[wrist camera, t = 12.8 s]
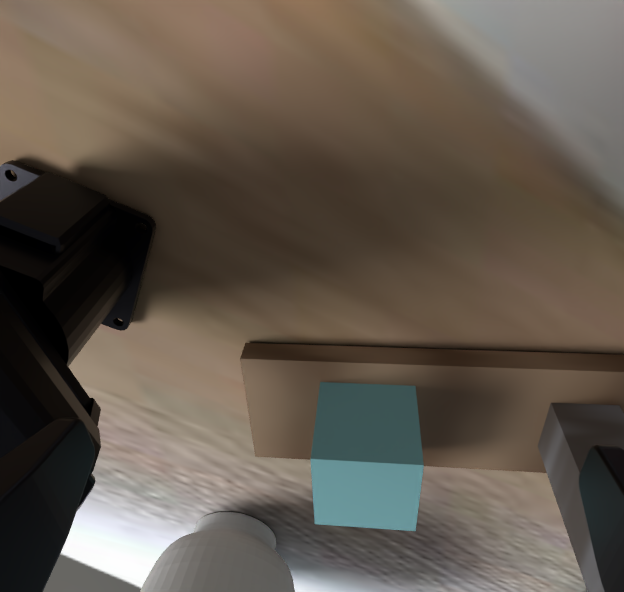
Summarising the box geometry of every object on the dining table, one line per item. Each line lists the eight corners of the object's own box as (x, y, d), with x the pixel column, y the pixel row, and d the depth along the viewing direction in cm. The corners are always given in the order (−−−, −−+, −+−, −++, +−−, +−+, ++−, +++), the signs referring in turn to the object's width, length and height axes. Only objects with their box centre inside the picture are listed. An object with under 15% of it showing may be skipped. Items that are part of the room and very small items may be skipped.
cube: (322, 445, 26) (314, 524, 23) (320, 382, 24) (310, 459, 20) (409, 449, 26) (415, 531, 22) (415, 385, 23) (423, 465, 20)
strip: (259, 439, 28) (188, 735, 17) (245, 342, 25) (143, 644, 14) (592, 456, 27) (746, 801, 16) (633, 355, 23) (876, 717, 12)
